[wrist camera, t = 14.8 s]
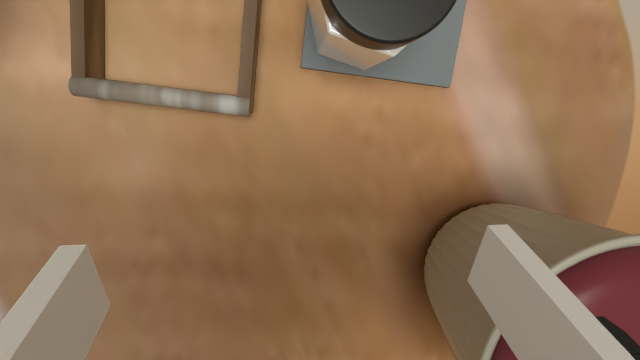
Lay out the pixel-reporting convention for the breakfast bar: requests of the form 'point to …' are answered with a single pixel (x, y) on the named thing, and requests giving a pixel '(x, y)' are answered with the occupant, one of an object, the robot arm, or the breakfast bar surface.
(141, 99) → the jar holder
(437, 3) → the jar
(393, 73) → the mat
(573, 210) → the breakfast bar surface
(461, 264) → the canister
